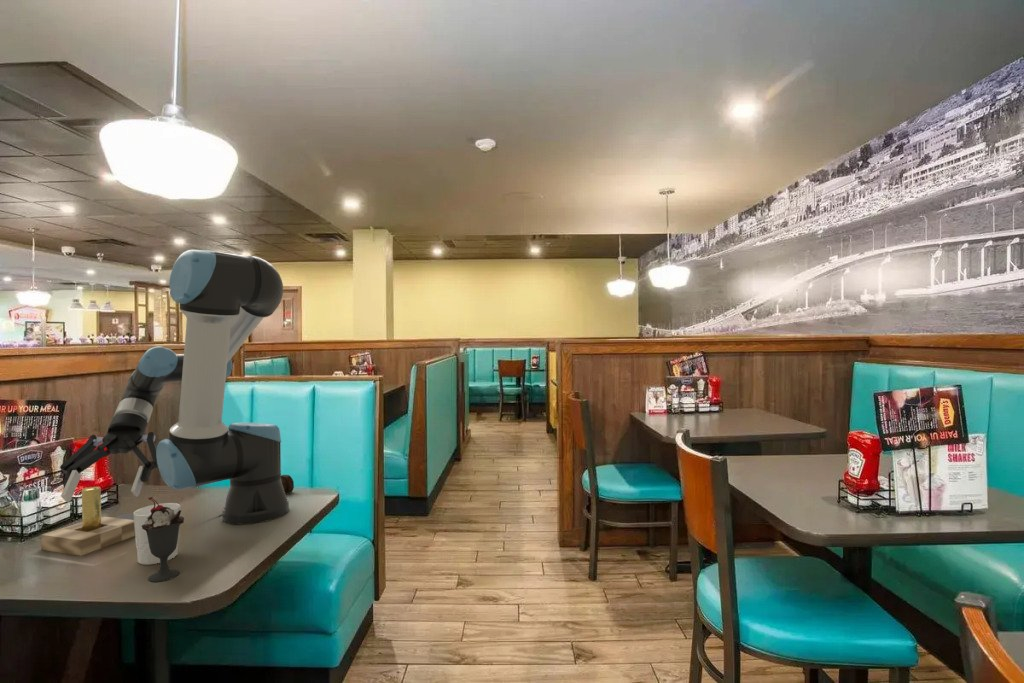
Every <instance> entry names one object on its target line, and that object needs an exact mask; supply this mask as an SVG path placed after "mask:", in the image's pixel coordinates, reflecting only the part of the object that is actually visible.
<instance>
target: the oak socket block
mask: <svg viewBox="0 0 1024 683" xmlns="http://www.w3.org/2000/svg"><path fill="white" fill-rule="evenodd" d="M133 537H135V529H134V520H129V519H120V518H113V517H111V516H102V515H101V528H98V529H95V530H92V531H89V532H84V531H83V524H82V521H81V522H77V523H74V524H71V525H68V526H64V527H62V528H58V529H55V530H52V531H49V532H46V533H42V534H40V550H42V551H48V552H54V553H62V554H69V555H74V556H83V555H88V554H90V553H92V552H95V551H97V550H98V551H99V550H100V549H103V548H106V547H108V546H111V545H113V544H114V545H115V544H117V543H120V542H123V541H125V540H127V539H131V538H133Z"/></svg>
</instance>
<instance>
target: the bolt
mask: <svg viewBox="0 0 1024 683" xmlns="http://www.w3.org/2000/svg"><path fill="white" fill-rule="evenodd" d="M281 482H282V485H283V488H284V491H285V494H287V493H288V494H291V493H293V490H294V489H295V484H294V480H293V478H292V476H291V475H289V474H281ZM290 492H291V493H290Z"/></svg>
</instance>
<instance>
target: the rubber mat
mask: <svg viewBox="0 0 1024 683" xmlns="http://www.w3.org/2000/svg"><path fill="white" fill-rule="evenodd" d="M112 518H120V519H129V520H134V515H133V513H122V514H120V515H117V516H113V517H112Z"/></svg>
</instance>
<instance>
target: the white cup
mask: <svg viewBox="0 0 1024 683" xmlns="http://www.w3.org/2000/svg"><path fill="white" fill-rule="evenodd" d="M158 504H159V505H162V506H163V507H169V508H171V509H172V510H174V514H176V513H177V512H178V511H179V510H181V504H180V503H177V502H164V503H163V502H162V503H158ZM157 506H158V505H157V503H155V508H156V507H157ZM152 508H154V504H151V505H148V506H147V505H146V506H144V507H141V508H139V509H135V510H134V512H133V513H132V514H133V515H134V529H135V536H134V540H135V548H136V552H137V553H136V554H137V563H138V564H140V565H145V566H146V565H148V566H149V565H150V566H151V565H156V564H157V563H158V564H160V559H159V558H158V557H155V556H154V555H153V554H151V551H150V548H149V542H148V537H147V532H146V530H144V529H142V527H141V526H142V525H144V524H145V521H146V520H147V517H148V516H149V515H151V512H150V510H151V509H152ZM179 529H180V527H179ZM179 541H180V532H179V533H178V541H177V546H176V549H175V550H174V552H173V553H172V554H171V555H170V556H169V557H168V561H170V560H172V558H173V559H174V558H175V556H176V555H177V556H178V554H179V552H178V550H179V549H178V548H179ZM177 556H176V557H177ZM158 564H157V565H158Z"/></svg>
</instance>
